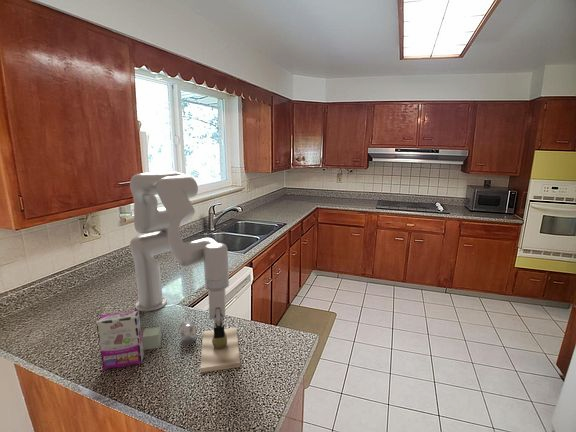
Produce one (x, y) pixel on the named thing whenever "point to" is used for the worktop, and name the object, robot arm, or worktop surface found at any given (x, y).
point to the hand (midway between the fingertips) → (219, 328)
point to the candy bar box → (120, 339)
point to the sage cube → (151, 338)
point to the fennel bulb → (219, 340)
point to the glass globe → (188, 332)
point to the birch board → (220, 352)
